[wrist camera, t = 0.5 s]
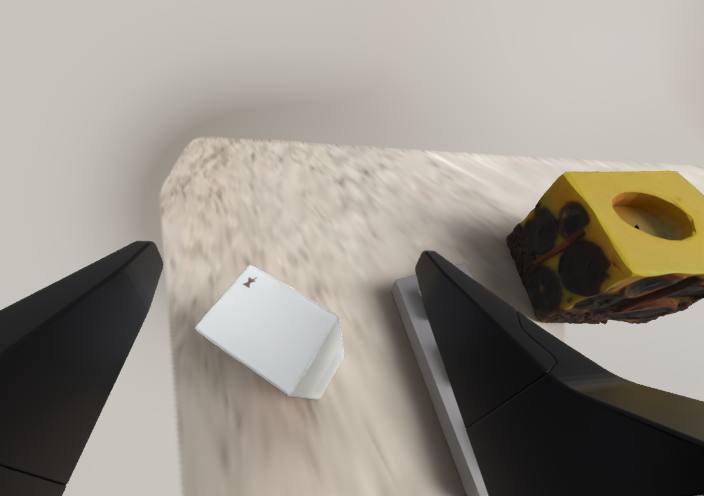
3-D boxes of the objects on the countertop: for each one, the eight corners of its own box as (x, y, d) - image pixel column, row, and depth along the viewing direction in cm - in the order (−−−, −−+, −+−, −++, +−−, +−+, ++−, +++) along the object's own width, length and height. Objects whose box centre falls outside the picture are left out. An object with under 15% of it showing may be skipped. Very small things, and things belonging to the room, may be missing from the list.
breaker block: (556, 469, 18) (589, 479, 16) (469, 503, 17) (489, 519, 15) (453, 276, 27) (464, 262, 24) (391, 292, 26) (395, 280, 23)
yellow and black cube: (643, 325, 24) (801, 280, 15) (537, 325, 24) (637, 281, 15) (588, 237, 29) (683, 168, 21) (502, 237, 29) (562, 169, 21)
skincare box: (263, 363, 22) (188, 326, 12) (292, 321, 24) (249, 259, 14) (320, 403, 20) (288, 400, 10) (347, 355, 22) (342, 312, 12)
